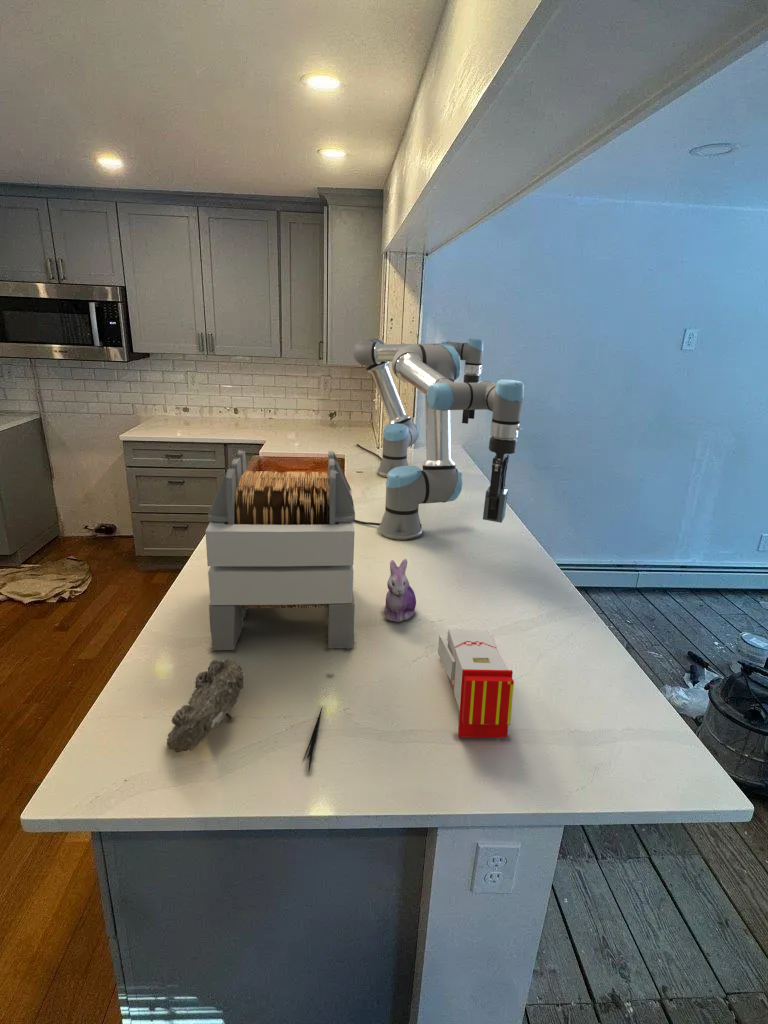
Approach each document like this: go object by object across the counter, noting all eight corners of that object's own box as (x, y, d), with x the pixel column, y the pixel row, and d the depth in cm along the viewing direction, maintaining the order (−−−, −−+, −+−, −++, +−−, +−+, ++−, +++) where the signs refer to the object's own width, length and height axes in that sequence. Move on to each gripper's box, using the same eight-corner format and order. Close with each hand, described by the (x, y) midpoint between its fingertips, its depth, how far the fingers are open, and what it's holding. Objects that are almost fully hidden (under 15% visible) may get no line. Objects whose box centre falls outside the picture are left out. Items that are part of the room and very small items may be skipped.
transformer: (231, 583, 159) (223, 441, 145) (347, 582, 163) (350, 443, 149) (209, 653, 127) (196, 479, 114) (354, 649, 131) (359, 481, 117)
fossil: (192, 660, 117) (244, 628, 112) (224, 691, 120) (276, 661, 115) (142, 746, 98) (202, 712, 93) (182, 779, 101) (242, 748, 96)
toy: (488, 613, 130) (523, 677, 101) (484, 667, 133) (517, 744, 104) (435, 612, 130) (455, 676, 101) (432, 666, 133) (451, 743, 103)
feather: (331, 679, 122) (336, 673, 122) (307, 777, 96) (313, 769, 95) (324, 675, 122) (329, 669, 121) (298, 772, 95) (304, 764, 95)
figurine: (392, 627, 141) (395, 572, 136) (374, 608, 149) (376, 556, 144) (425, 619, 145) (429, 566, 140) (405, 601, 154) (408, 550, 149)
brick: (501, 522, 162) (505, 494, 159) (482, 519, 164) (485, 491, 161) (504, 517, 167) (508, 489, 164) (486, 513, 168) (489, 486, 165)
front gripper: (512, 446, 148) (501, 528, 156) (522, 432, 164) (511, 508, 172) (483, 442, 150) (474, 523, 158) (496, 429, 166) (487, 504, 174)
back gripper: (475, 377, 245) (470, 426, 252) (485, 372, 267) (481, 417, 274) (458, 376, 247) (454, 424, 254) (470, 371, 269) (465, 415, 277)
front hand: (493, 515), depth 165 cm, fingers closed on brick, 5 cm apart
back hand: (468, 420), depth 264 cm, fingers open, 13 cm apart
